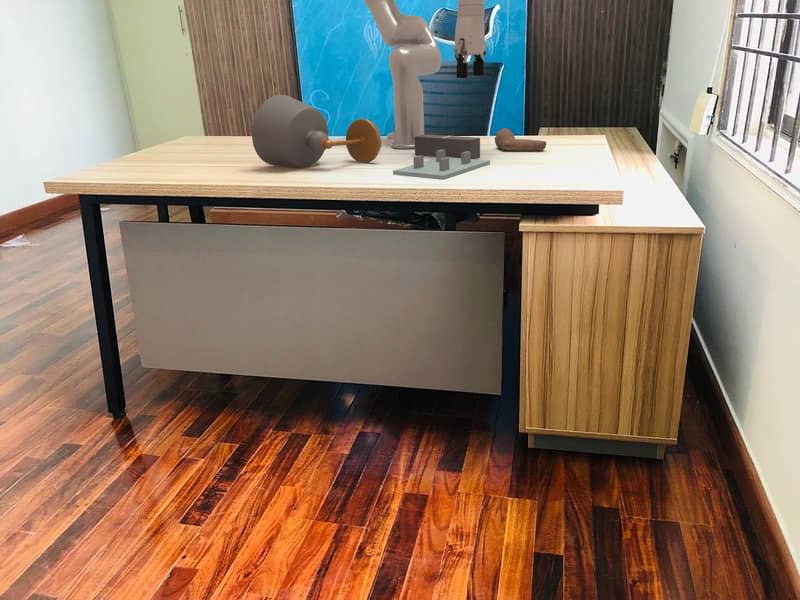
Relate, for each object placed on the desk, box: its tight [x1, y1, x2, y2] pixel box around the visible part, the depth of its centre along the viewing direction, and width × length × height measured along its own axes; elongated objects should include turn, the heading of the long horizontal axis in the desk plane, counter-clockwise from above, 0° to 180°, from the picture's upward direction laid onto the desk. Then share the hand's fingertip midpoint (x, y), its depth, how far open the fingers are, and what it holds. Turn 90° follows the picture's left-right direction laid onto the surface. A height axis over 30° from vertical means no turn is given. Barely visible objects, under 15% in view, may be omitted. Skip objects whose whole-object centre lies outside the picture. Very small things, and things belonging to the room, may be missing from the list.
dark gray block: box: [414, 133, 481, 159], centre depth 209 cm, size 20×5×6 cm, turn 54°
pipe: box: [494, 127, 547, 153], centre depth 216 cm, size 6×17×10 cm
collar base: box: [392, 150, 491, 180], centre depth 190 cm, size 16×24×4 cm, turn 144°
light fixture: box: [251, 94, 382, 169], centre depth 199 cm, size 20×25×27 cm
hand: (470, 76), depth 201 cm, fingers open, 9 cm apart
